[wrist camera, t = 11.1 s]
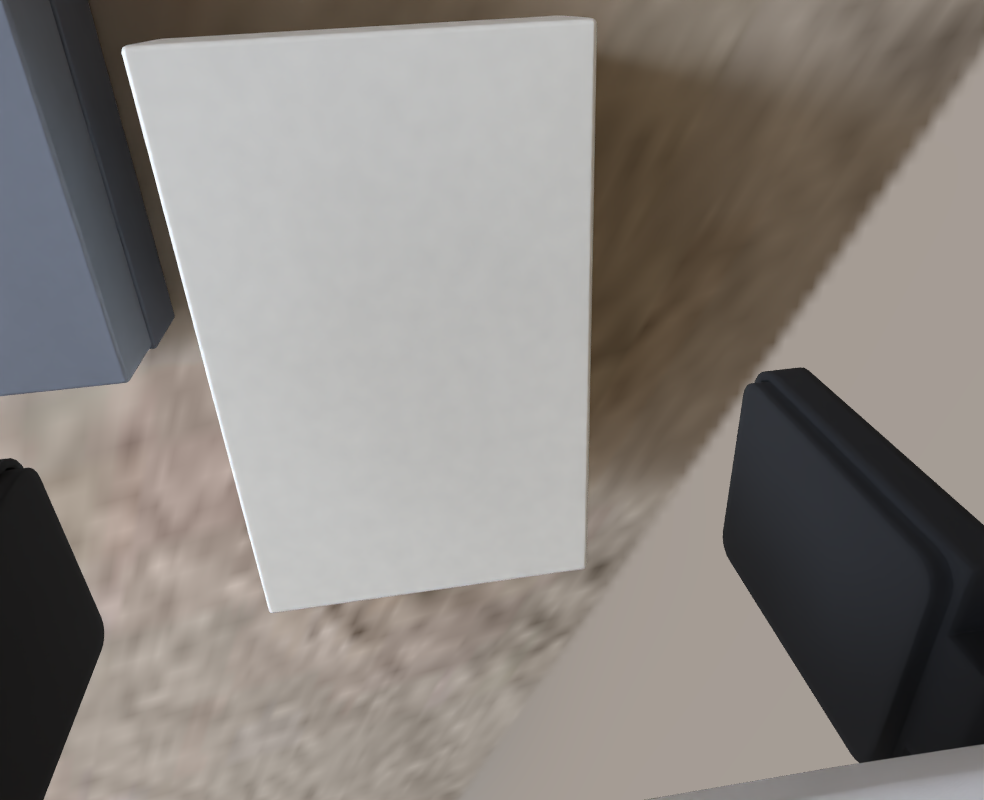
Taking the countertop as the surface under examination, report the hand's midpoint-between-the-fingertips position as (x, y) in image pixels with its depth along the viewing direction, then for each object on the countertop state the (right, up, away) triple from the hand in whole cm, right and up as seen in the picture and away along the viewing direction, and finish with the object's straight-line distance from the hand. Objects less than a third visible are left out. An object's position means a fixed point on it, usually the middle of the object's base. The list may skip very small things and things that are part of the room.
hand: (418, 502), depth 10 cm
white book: (-1, +3, +5) cm, 6 cm away
